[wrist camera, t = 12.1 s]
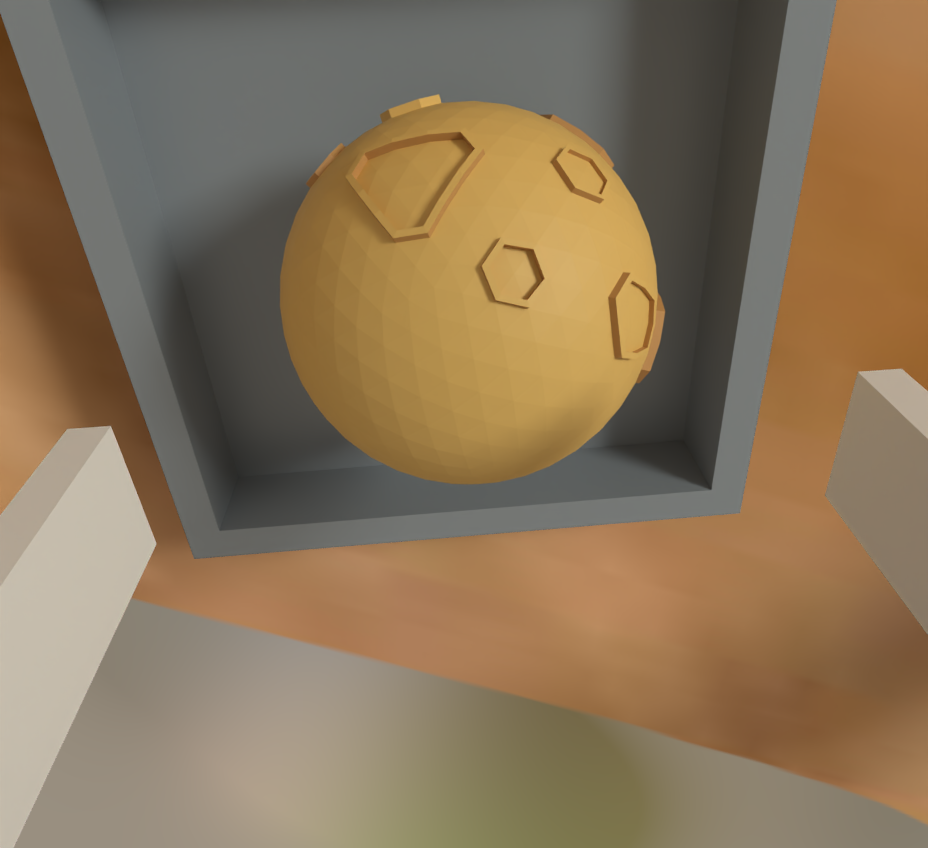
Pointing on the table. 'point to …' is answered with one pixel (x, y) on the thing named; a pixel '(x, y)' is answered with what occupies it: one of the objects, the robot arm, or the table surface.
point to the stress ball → (469, 291)
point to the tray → (342, 121)
